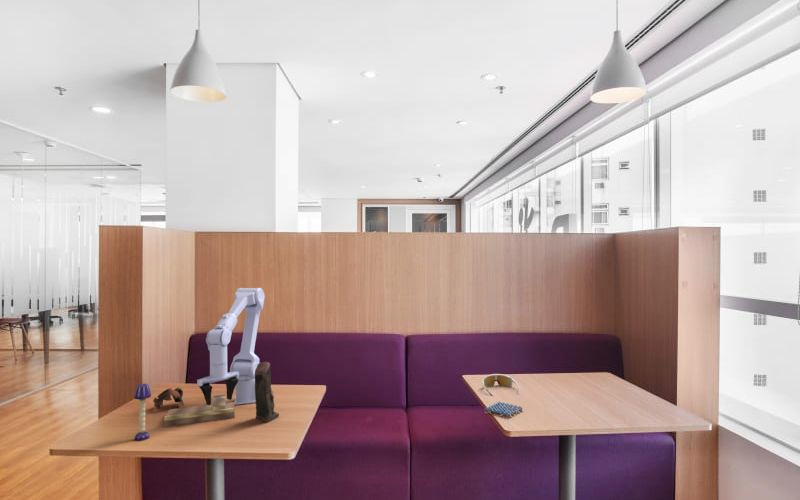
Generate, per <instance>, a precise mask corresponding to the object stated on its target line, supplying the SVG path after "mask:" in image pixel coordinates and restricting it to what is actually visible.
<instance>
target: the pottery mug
mask: <svg viewBox="0 0 800 500" xmlns="http://www.w3.org/2000/svg"><path fill="white" fill-rule="evenodd" d="M183 396H184V391H183V389H182V388H180V387H177V388H176V387H175V388H174V389H172V388H171V387H169V388H167V389H165V390H164V391H162V392H161V393H158V395H157V397H154V398H153V399H152V402H153V403H154V405H153V406H154V408H157V409H159V408H160V407H161V406H164V405H163V403H164V401H169V402H170V401H172V400H174V403H177V404H176V406H177V407H178V408H184V406H185V403H184V401H183V398H182V397H183ZM171 397H172V398H173V399H172V398H171Z"/></svg>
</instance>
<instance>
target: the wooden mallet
mask: <svg viewBox="0 0 800 500" xmlns="http://www.w3.org/2000/svg"><path fill="white" fill-rule="evenodd" d="M226 403H227V402H226V394H218V395H213V396H212V404H213V410H220V409H226Z"/></svg>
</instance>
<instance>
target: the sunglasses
mask: <svg viewBox="0 0 800 500" xmlns="http://www.w3.org/2000/svg"><path fill="white" fill-rule="evenodd" d="M481 381H482V383H481V384H482V387H483V388H484V390H485V391H487V392H488V394H489V395H490V396H492V397H494V394H493V393H492V392H491V391H490V390H488V388H489V387H493V386H495V384H496V382H497V384H498V386H502V387H503V386H505V387H510V388H511V387H513V384H515V385H516V386H517V387H518V393H517V396H519V395H520V389H521V388H520V386H519V384H518V382H517V381H516V380H515V379H514V378H512V377H511V376H509V375H506V374H502V373H492V374H488V375H486V376H485V377H483V378H482V380H481ZM487 387H488V388H487Z"/></svg>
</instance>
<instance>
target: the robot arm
mask: <svg viewBox="0 0 800 500" xmlns="http://www.w3.org/2000/svg"><path fill="white" fill-rule="evenodd" d="M265 298H266V296H265V292H264V289H262V287H252V288H251V287H246V288H245V287H239V288H238V287H237V290H236V291H235V293H234V302H233V303H232V305H231V307H230V309H229V311H228V313H224V314H223V315H222V316H221V318H220V319H219V321H218V323H217V324H216V325H215V327H214V328H213V329H210V330H209V331H208V332H207V334H206V338H205V343H206V344H207V349H208V351H209V375H208V376H204V377H202V378H199V379H197V380H196V382H197V383H196V384H197V386H198V387H199V389H200V391H201V393H202V394H203V397H204V400H205V405H211V404H212V390H213V386H212V385H211V384H213V383H217V382H221V381H225V386H226V400H230V401H232V399H233V396H234V392H235V397H234V402H235V406H237V405H246V404H252V403H256V399H255V370H256V368H257V365H258V364H259V363H260V358H259V356H258V355H257V354H255V346H256V341H257V334H258V329H259V321H260V316H261V311H263V309H264V305H265V304H264V302H265ZM243 310H244V311H245V312H246V316H245V321H244V327H243V333H242V338H241V340H242V341H241V345H240V351H239V352H238V353H237V354H236V355H234V356H233V359H232V362H231V364H230V368H229V372H228V344H229V343H230V342H231V338H232V335H233V334H232V332H233V330H234V329H235V327H236V325H237V324H238V316H240V314H241V313H242V311H243Z"/></svg>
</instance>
